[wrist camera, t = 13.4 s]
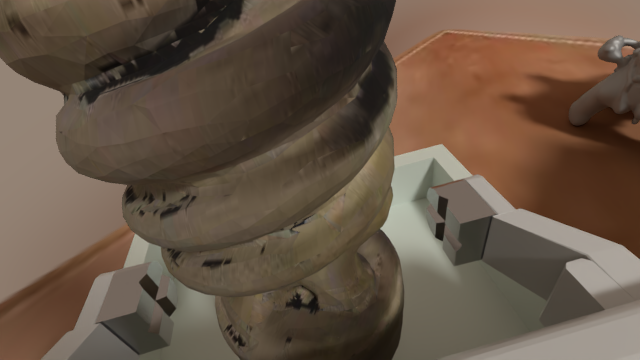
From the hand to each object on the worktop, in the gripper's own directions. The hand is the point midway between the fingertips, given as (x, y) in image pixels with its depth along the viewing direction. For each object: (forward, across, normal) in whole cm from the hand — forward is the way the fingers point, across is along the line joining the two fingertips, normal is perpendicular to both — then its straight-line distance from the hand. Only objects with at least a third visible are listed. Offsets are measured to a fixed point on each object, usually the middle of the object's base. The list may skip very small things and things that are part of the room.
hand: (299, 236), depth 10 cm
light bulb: (-1, 0, +8) cm, 8 cm away
